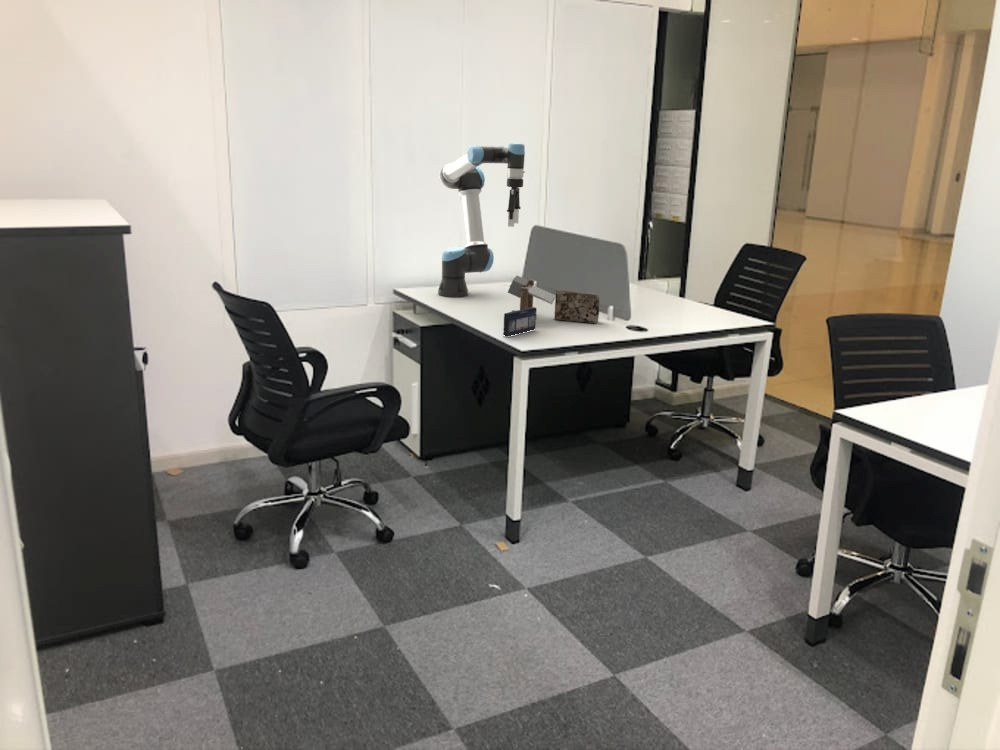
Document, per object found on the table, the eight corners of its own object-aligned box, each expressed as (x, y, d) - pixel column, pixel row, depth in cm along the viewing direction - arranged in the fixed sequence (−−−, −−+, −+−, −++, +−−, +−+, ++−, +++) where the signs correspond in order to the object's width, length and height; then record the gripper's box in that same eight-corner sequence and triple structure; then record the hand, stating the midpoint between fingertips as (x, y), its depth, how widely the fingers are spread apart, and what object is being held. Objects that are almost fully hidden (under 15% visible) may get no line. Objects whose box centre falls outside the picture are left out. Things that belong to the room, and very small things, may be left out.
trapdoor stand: (504, 323, 350) (505, 287, 345) (512, 311, 373) (513, 277, 368) (529, 325, 349) (530, 289, 344) (535, 313, 371) (537, 279, 366)
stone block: (555, 317, 365) (599, 320, 362) (553, 321, 359) (597, 324, 355) (556, 288, 361) (601, 292, 357) (554, 292, 354) (599, 295, 351)
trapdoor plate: (506, 293, 350) (512, 281, 348) (512, 286, 365) (517, 274, 363) (548, 311, 349) (554, 299, 347) (552, 304, 364) (557, 292, 362)
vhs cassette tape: (507, 337, 327) (508, 314, 324) (502, 336, 329) (502, 312, 326) (536, 330, 340) (537, 308, 337) (531, 329, 342) (532, 306, 339)
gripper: (519, 180, 353) (517, 228, 360) (526, 176, 377) (524, 222, 383) (502, 179, 354) (500, 227, 361) (511, 176, 378) (509, 221, 384)
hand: (513, 224), depth 372 cm, fingers open, 13 cm apart
